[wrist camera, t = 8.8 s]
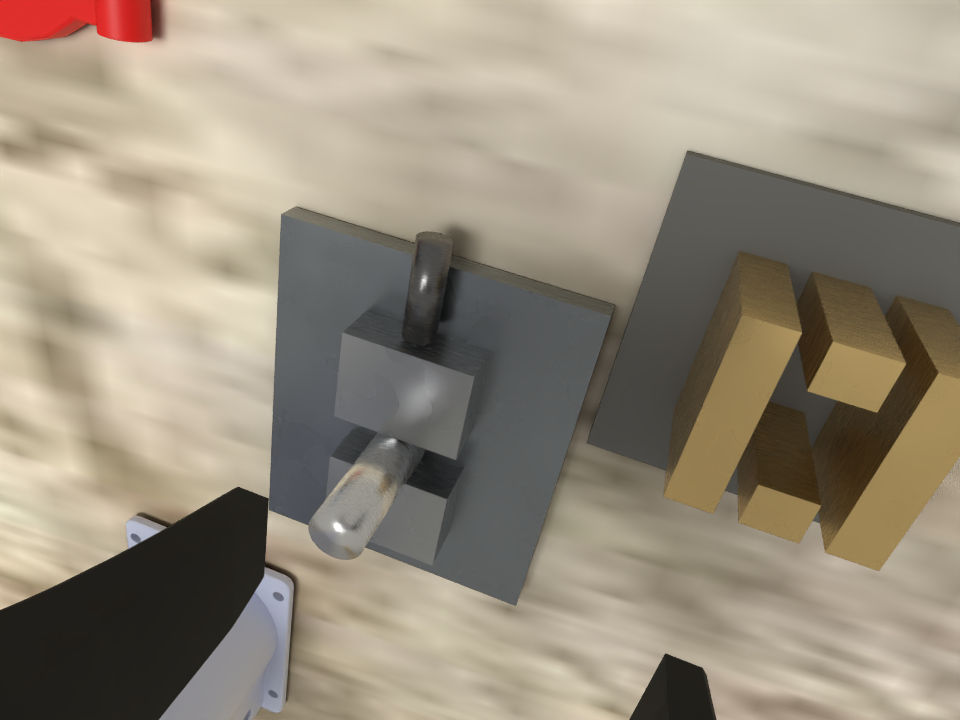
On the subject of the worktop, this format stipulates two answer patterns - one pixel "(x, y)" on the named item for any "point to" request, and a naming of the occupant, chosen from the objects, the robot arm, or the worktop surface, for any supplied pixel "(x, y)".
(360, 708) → the worktop surface
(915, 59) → the worktop surface
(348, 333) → the vise
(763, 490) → the tan slotted block
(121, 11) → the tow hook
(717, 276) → the mat
